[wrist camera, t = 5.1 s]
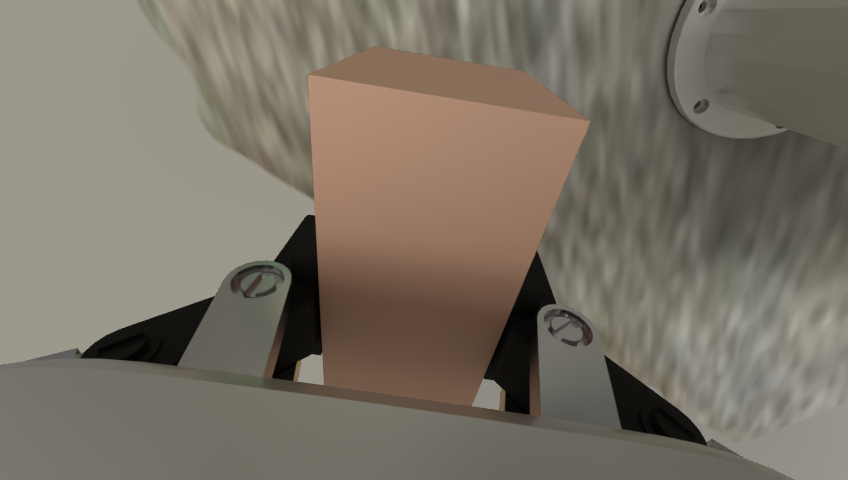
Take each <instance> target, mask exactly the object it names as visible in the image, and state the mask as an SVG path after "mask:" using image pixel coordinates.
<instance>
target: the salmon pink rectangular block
mask: <svg viewBox="0 0 848 480" xmlns="http://www.w3.org/2000/svg"><path fill="white" fill-rule="evenodd" d="M308 90H309V109H310V127H311V146H312V165H313V184H314V203H315V222H316V241H317V259H318V278H319V297H320V316H321V335H322V354H323V371H324V372H323V373H324V386H332V387H339V388H346V389H353V390H360V391H367V392H374V393H381V394H388V395H395V396H403V397H410V398H417V399H423V400H430V401H437V402H444V403H451V404H458V405H465V406H472V404H473V401H474V399H475V396H476V394H477V392H478V389H479V387H480V384H481V382H482V380H483V377H484V375H485V373H486V370H487V368H488V365H489V363H490V361H491V358H492V356H493V354H494V351H495V349H496V346H497V344H498V342H499V339H500V337H501V334H502V332H503V330H504V327H505V325H506V322H507V320H508V318H509V315H510V313H511V311H512V308H513V306H514V303H515V301H516V299H517V296H518V294H519V291H520V289H521V287H522V284H523V282H524V279H525V277H526V275H527V272H528V270H529V268H530V265H531V263H532V260H533V258H534V256H535V253H536V251H537V248H538V246H539V244H540V241H541V239H542V236H543V234H544V232H545V229H546V227H547V225H548V222H549V220H550V217H551V215H552V213H553V210H554V208H555V205H556V203H557V201H558V198H559V196H560V193H561V191H562V189H563V186H564V184H565V182H566V179H567V177H568V174H569V172H570V170H571V167H572V165H573V162H574V160H575V158H576V155H577V153H578V150H579V148H580V146H581V143H582V141H583V138H584V136H585V134H586V131H587V129H588V127H589V124H590V122H591V121H589V120H588V119H587V118H585V117H584V116H583V115H581V114H580V113H579V112H577V111H576V110H575V109H573V108H572V107H571V106H569V105H568V104H567V103H565V102H564V101H563V100H562V99H560V98H559V97H558V96H556V95H555V94H554V93H552V92H551V91H550V90H548V89H547V88H546V87H544V86H543V85H542V84H540V83H539V82H538V81H536V80H535V79H534V78H533V77H531V76H530V75H529V74H527V73H526V72H524V71H518V70H512V69H506V68H501V67H495V66H489V65H483V64H477V63H471V62H465V61H459V60H453V59H447V58H442V57H436V56H430V55H424V54H418V53H412V52H406V51H400V50H394V49H388V48H382V47H377V46H375V47H373V48H370V49H368V50H365V51H363V52H361V53H358V54H356V55H353V56H351V57H349V58H346V59H344V60H341V61H339V62H337V63H334V64H332V65H329V66H327V67H325V68H322V69H320V70H317V71H315V72H313V73H310V74H308Z"/></svg>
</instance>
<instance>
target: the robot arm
mask: <svg viewBox="0 0 848 480" xmlns="http://www.w3.org/2000/svg"><path fill="white" fill-rule="evenodd" d="M700 4H702V6H701V9H700V10H699V6H700ZM698 10H699V11H698ZM667 80H668V85H669V90H670V94H671V97H672V99H673V101H674V103H675V105H676V107H677V109H678V111H679V112H680V113H681V114H682V115H683V116H684V117H685V118H686V119H687V120H688V121H689V122H690V123H692V124H694V125H695V126H697V127H699V128H700V129H702V130H705V131H707V132H710V133H712V134H714V135H717V136H722V137H727V138H733V139H754V138H759V137H765V136H771V135H776V134H779V133H782V132H785V131H788V130H792V131H795V132H798V133H801V134H803V135H806V136H809V137H812V138H815V139H818V140H821V141H824V142H827V143H830V144H833V145H836V146H839V147H842V148H845V149H848V0H686V2H685V4H684V6H683V8H682V10H681V12H680V15H679V17H678V20H677V23H676V26H675V28H674V31H673V34H672V37H671V42H670V47H669V52H668V57H667ZM321 353H322V335H321V316H320V297H319V278H318V259H317V241H316V222H315V216H314V215H307V216H306V217H305V218H304V220H303V221H302V222H301V224H300V225H299V227H298V228H297V230H296V231H295V232H294V234H293V235H292V236H291V238H290V239H289V241H288V242H287V244H286V245H285V246H284V248H283V249H282V250H281V252H280V253H279V255H278V256H277V257H276V259H275V260H274V262H273V261H255V262H251V263H247V264H244V265H242V266H239V267H237V268H236V269H234V270H233V271H231V272H230V273H229V274H228V275H227V277H226V278H225V279H224V280H223V282H222V284H221V286H220V288H219V290H218V292H217V293H216V295H215V296H214V297H211V298H208V299H205V300H202V301H199V302H197V303H194V304H191V305H188V306H185V307H182V308H179V309H176V310H174V311H171V312H168V313H165V314H162V315H159V316H156V317H153V318H151V319H148V320H145V321H142V322H139V323H136V324H134V325H131V326H128V327H125V328H122V329H119V330H117V331H115V332H113V333H111V334H108V335H106V336H105V337H103V338H102V339H100V340H98V341H97V342H95V343H94V344H93V345H92V346H90V348H88V349H87V350H86V351H85V352H84V353H80V351H79V350H78V349H77V348H76V349H72V350H68V351H64V352H60V353H56V354H52V355H48V356H43V357H39V358H35V359H31V360H27V361H23V362H16V363H10V364H3V365H0V480H794V479H792V478H790V477H788V476H786V475H784V474H782V473H780V472H777V471H775V470H773V469H771V468H769V467H766V466H764V465H761V464H759V463H756V462H753V461H751V460H748V459H745V458H743V457H742V456H739V455H738V454H736V453H735V452H733V451H731V450H730V449H728V448H726V447H725V446H723V445H721V444H720V443H718V442H716V441H715V440H713V439H711V440H709V441H708V442H706V441H705V439H704V437H703V436H702V434H701V432H700V431H699V429H698V428H697V427H696V426H695V425H694V424H693V422H692V421H691V420H690V419H689V418H688V417H687V416H686V415H684V414H683V413H682V412H681V411H680V410H679V409H677V408H676V407H674V406H673V405H672V404H670V403H669V402H668V401H666V400H665V399H664V398H662V397H661V396H659V395H658V394H657V393H655V392H654V391H653V390H651V389H650V388H649V387H647V386H646V385H644V384H643V383H642V382H640V381H639V380H638V379H636V378H635V377H634V376H632V375H631V374H629V373H628V372H627V371H625V370H624V369H623V368H621V367H620V366H619V365H617V364H616V363H614V362H613V361H612V360H610V359H609V358H608V357H606V356H605V355H604V353H603V348H602V344H601V340H600V336H599V333H598V331H597V329H596V327H595V326H594V325H593V323H592V322H591V321H590V320H589V319H588V318H587V317H585V316H584V315H583V314H581V313H580V312H578V311H576V310H575V309H572V308H570V307H567V306H564V305H558V304H556V301H555V298H554V296H553V293H552V290H551V287H550V285H549V282H548V279H547V276H546V274H545V271H544V268H543V265H542V263H541V260H540V257H539V254H538V252H537V251H536V253H535V256H534V258H533V260H532V263H531V265H530V268H529V270H528V272H527V275H526V277H525V279H524V282H523V284H522V287H521V289H520V291H519V294H518V296H517V299H516V301H515V303H514V306H513V308H512V311H511V313H510V315H509V318H508V320H507V322H506V325H505V327H504V330H503V332H502V334H501V337H500V339H499V342H498V344H497V346H496V349H495V351H494V354H493V356H492V358H491V361H490V363H489V365H488V368H487V370H486V373H485V375H484V379H489V380H494V381H495V382H496V383H497V384H498V385H499V386H500V387H501V388H502V389H501V393H500V407H499V410H493V409H485V408H479V407H472V406H465V405H458V404H451V403H444V402H437V401H430V400H423V399H417V398H410V397H403V396H395V395H388V394H381V393H374V392H367V391H360V390H353V389H346V388H339V387H332V386H324V385H317V384H309V383H303V382H298V377H299V372H300V366H301V360H302V359H304V358H305V357H307V356H309V355H311V354H315V355H321Z"/></svg>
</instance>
